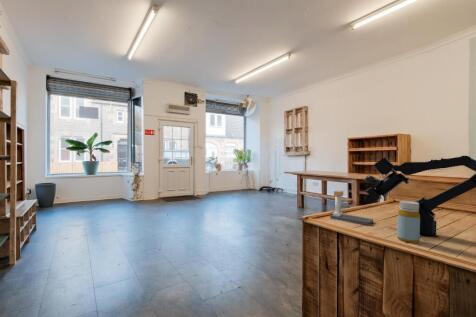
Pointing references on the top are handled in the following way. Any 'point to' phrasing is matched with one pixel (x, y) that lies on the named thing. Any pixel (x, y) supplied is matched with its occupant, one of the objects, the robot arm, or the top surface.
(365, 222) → the console
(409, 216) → the bottle
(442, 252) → the top surface
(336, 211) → the fader knob
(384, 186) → the robot arm
